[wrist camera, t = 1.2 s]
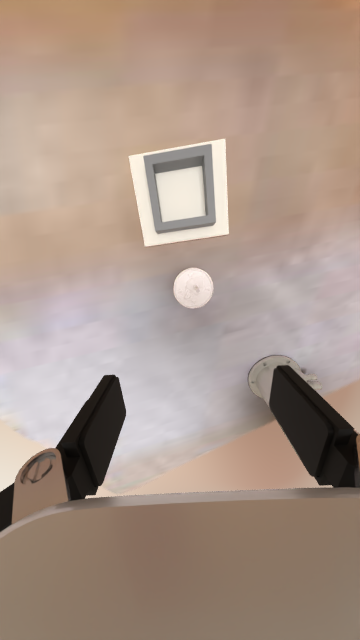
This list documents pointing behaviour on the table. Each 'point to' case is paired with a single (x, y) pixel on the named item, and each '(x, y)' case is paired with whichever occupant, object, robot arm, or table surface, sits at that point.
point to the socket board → (181, 192)
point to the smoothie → (193, 288)
